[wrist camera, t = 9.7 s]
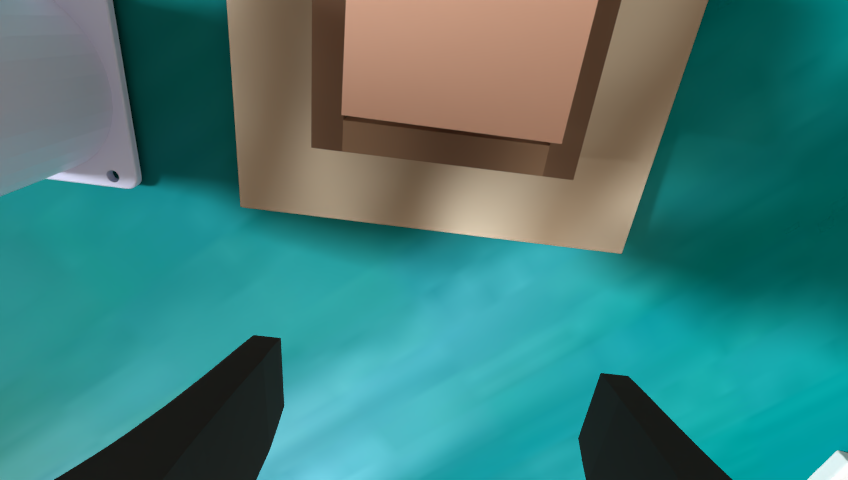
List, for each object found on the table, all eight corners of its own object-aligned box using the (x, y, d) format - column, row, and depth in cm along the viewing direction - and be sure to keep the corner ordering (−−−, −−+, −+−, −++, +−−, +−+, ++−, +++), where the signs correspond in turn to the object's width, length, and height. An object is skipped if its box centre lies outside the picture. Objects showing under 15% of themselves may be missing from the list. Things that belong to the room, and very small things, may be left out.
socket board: (249, 198, 20) (206, 238, 16) (219, -330, 13) (131, -465, 9) (613, 243, 20) (650, 292, 16) (778, -257, 13) (905, -363, 9)
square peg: (388, 73, 16) (340, 114, 9) (400, -77, 14) (352, -172, 7) (511, 89, 16) (562, 144, 9) (540, -57, 15) (632, -133, 7)
